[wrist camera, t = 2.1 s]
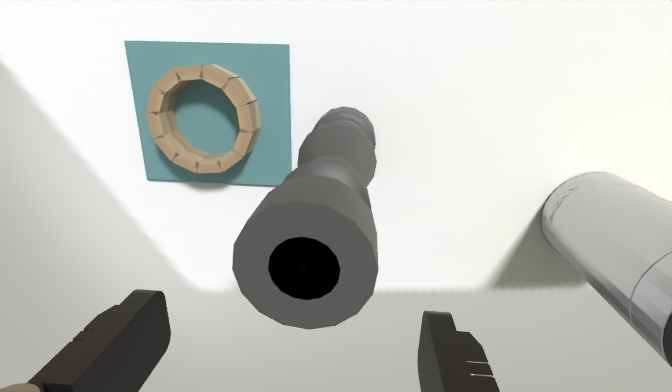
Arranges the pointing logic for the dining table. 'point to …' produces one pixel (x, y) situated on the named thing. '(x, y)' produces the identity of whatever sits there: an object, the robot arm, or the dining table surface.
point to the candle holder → (315, 230)
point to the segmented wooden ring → (167, 127)
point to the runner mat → (217, 108)
